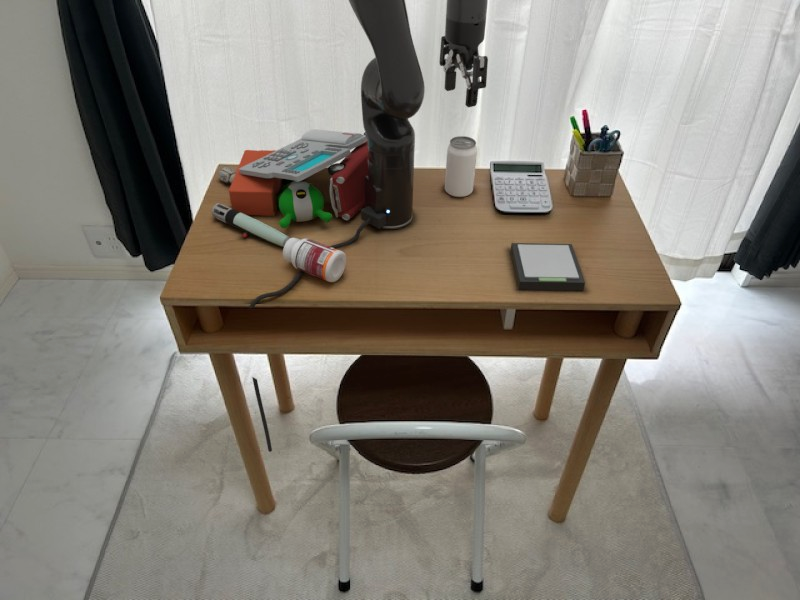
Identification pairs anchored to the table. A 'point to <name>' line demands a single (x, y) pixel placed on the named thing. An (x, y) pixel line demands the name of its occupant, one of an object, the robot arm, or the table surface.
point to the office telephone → (305, 155)
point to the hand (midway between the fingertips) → (460, 97)
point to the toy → (301, 203)
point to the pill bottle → (315, 258)
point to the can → (460, 166)
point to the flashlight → (249, 225)
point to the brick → (254, 189)
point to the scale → (546, 267)
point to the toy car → (349, 182)
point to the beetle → (227, 175)
